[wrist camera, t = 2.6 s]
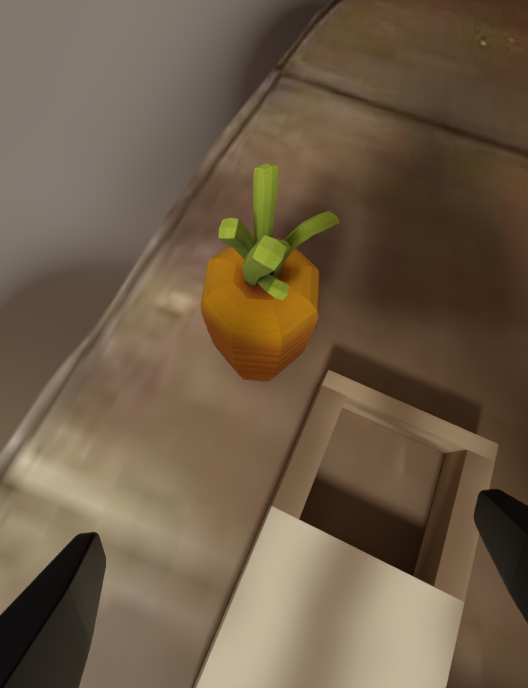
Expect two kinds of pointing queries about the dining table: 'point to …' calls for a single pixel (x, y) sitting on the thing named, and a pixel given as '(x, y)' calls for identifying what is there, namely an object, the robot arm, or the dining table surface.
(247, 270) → the carrot
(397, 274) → the dining table surface
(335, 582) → the open matchbox
